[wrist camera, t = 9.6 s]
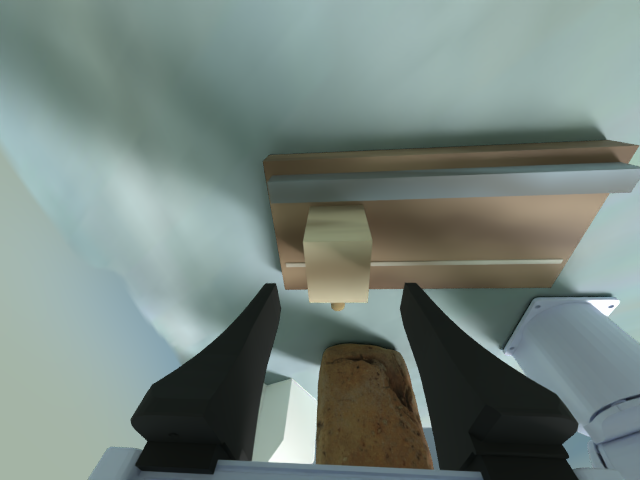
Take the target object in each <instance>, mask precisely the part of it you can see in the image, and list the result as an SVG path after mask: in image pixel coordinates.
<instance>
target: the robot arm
mask: <svg viewBox="0 0 640 480" xmlns="http://www.w3.org/2000/svg"><path fill="white" fill-rule="evenodd" d="M619 302H620V300H618V299H617V298H616V297H539V298H535V299H533V301H532V302H531V304H530V306H529V307H528V309H527V311H526V312H525V314H524V316H523V317H522V319H521V321H520V323H519V324H518V326H517V328H516V329H515V331H514V333H513V334H512V336H511V338H510V340H509V341H508V343H507V345H506V346H505V348H504V350H503V353H504V354H505V355H507V356H513V357H514V358H515V360H516V361H517V363H518V364H519V366H520V367H521V369H522V370H523V371H524V373H525V374H526V376H527V377H526V376H525V375H523V374H522V373H520V372H518V371H517V370H515V369H514V368H512V367H511V366H509V365H508V364H506V363H505V362H503V361H502V360H500V359H499V358H497V357H496V356H495V355H493V354H492V353H490V352H489V351H488V350H486V349H485V348H484V347H482V346H481V345H480V344H478V343H477V342H476V341H475V340H473V339H472V338H471V337H470V336H469V335H467V334H466V333H465V332H464V331H463V330H462V329H460V328H459V327H458V326H457V325H456V324H455V323H454V322H453V321H452V320H451V319H450V318H449V317H448V316H447V315H446V314H445V313H444V312H443V311H442V310H441V309H440V308H439V307H438V306H437V305H436V304H435V303H434V302H433V301H432V300H431V299H430V297H429V296H428V295H427V294H426V293H425V292H424V291H423V290H422V288H421V287H420V286H419V285H418V284H417V283H405V284H404V289H403V295H402V301H401V306H400V311H401V316H402V321H403V325H404V329H405V332H406V335H407V337H408V340H409V343H410V346H411V349H412V352H413V355H414V358H415V361H416V364H417V367H418V370H419V373H420V377H421V381H422V385H423V389H424V394H425V398H426V402H427V407H428V411H429V416H430V421H431V426H432V431H433V435H434V440H435V446H436V451H437V457H438V461H439V468H440V470H429V469H408V468H386V467H365V466H343V465H321V464H300V463H278V462H257V461H252V456H253V449H254V441H255V434H256V427H257V420H258V414H259V407H260V401H261V395H262V389H263V384H264V378H265V373H266V369H267V364H268V361H269V357H270V354H271V350H272V347H273V343H274V340H275V336H276V332H277V329H278V325H279V319H280V312H281V306H280V301H279V296H278V291H277V286H276V283H266V284H265V285H264V286H263V287H262V288H261V290H260V291H259V292H258V294H257V295H256V296H255V297H254V299H253V300H252V301H251V302H250V304H249V305H248V306H247V307H246V308H245V310H244V311H243V312H242V313H241V314H240V315H239V316H238V317H237V318H236V320H235V321H234V322H233V323H232V324H231V325H230V326H229V327H228V328H227V329H226V330H225V331H224V332H223V333H222V334H221V335H220V336H219V337H217V338H216V339H215V340H214V341H213V342H212V343H211V344H209V345H208V346H207V347H206V348H205V349H203V350H202V351H201V352H200V353H198V354H197V355H196V356H194V357H193V358H192V359H190V360H189V361H188V362H186V363H185V364H183V365H182V366H181V367H179V368H178V369H176V370H175V371H173V372H172V373H170V374H168V375H167V376H165V377H164V378H162V379H161V380H159V381H157V382H156V383H154V384H153V385H152V386H151V387H150V389H149V390H148V392H147V393H146V395H145V396H144V398H143V400H142V402H141V403H140V405H139V406H138V408H137V410H136V411H135V413H134V415H133V416H132V418H131V424H132V426H133V427H134V429H135V430H136V431H137V432H138V433H139V434H141V436H143V437H144V438H145V439H146V440H147V444H146V445H145V447H144V449H143V450H141V449H137V448H127V447H109V448H107V450H106V451H105V453H104V455H103V456H102V458H101V459H100V461H99V462H98V464H97V466H96V467H95V469H94V470H93V472H92V473H91V475H90V476H89V478H88V480H640V343H639V342H637V341H636V340H635V339H634V338H632V337H631V336H630V335H629V334H628V333H626V332H625V331H624V330H623V329H621V328H620V327H619V326H618V325H617V324H615V323H614V322H613V321H612V320H611V319H609V318H608V315H609V314H610V313H611V312H612V311H613V310H614V309H615V307H616V306H617V305H618V304H619ZM576 431H577V432H579V433H582V434H584V435H586V436H589V437H591V440H589V441H588V445H587V447H588V452H589V457H590V460H591V463H592V466H593V468H577V469H573V470H572V468H571V467H570V465H569V464H568V462H567V460H566V459H568V458H569V455H568V453H567V452H566V450H565V448H564V447H563V446H562V444H563V443H564V442H565V441H566V440H568V439H569V438H570V437H571V436H573V435H574V433H576Z"/></svg>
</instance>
